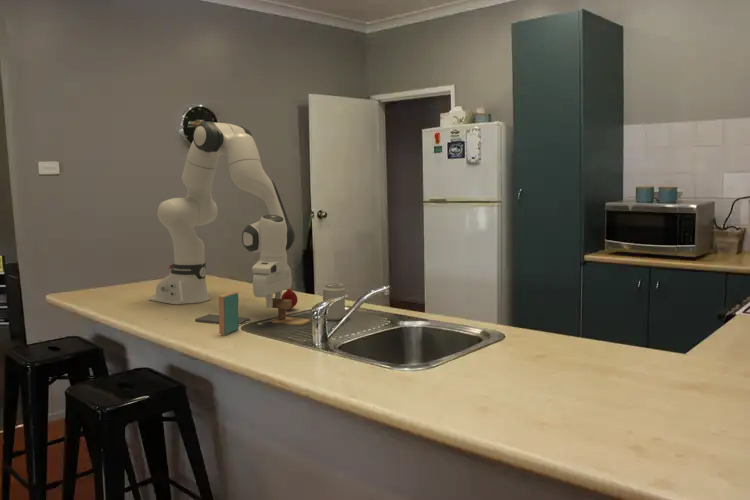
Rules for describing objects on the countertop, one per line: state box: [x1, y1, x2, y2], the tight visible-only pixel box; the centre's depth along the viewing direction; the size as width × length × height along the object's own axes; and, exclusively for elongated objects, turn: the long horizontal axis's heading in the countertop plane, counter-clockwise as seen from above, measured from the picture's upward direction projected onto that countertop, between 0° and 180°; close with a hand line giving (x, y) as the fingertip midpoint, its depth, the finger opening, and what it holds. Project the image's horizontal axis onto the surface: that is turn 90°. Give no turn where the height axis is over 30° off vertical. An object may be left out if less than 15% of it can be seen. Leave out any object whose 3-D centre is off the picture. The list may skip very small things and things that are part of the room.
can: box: [322, 282, 346, 322], centre depth 218 cm, size 8×8×12 cm
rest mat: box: [194, 313, 251, 325], centre depth 213 cm, size 16×8×1 cm, turn 70°
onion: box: [280, 288, 298, 310], centre depth 231 cm, size 6×6×8 cm
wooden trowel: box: [265, 297, 312, 327], centre depth 213 cm, size 14×6×7 cm, turn 69°
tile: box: [218, 291, 240, 336], centre depth 198 cm, size 2×8×12 cm, turn 160°
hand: (273, 305), depth 214 cm, fingers closed on wooden trowel, 3 cm apart
